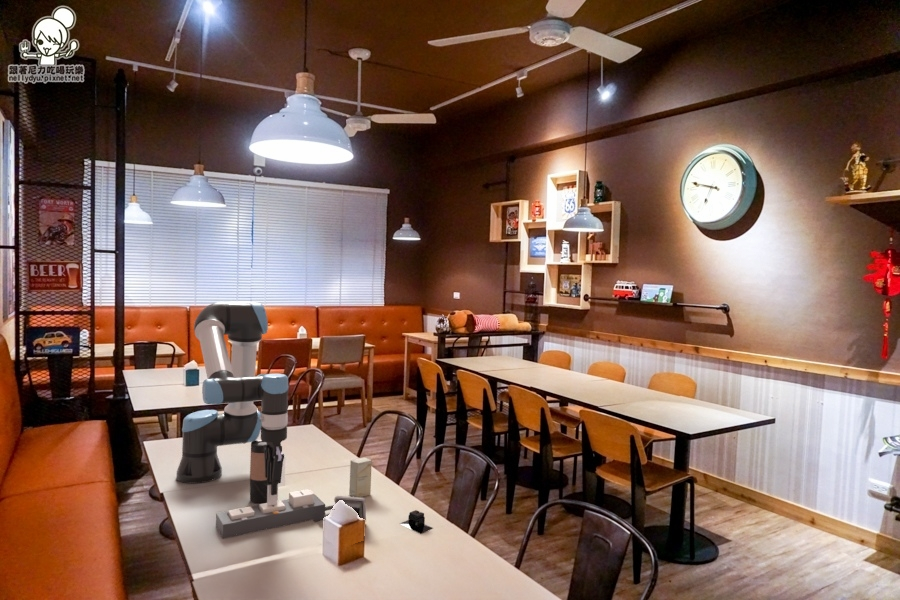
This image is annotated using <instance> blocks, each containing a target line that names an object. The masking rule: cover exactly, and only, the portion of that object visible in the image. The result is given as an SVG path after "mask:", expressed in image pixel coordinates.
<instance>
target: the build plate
mask: <svg viewBox="0 0 900 600" xmlns="http://www.w3.org/2000/svg"><path fill="white" fill-rule="evenodd" d="M425 519H426V517H425V513H424V512H422V511H419V510H417V509H415V510H412V511H410V512H409V514H408V520H405V521H402V522H400V523H399V525H401V526H403V527H405V528H408V529H410V530H412V531H413V532H416V533H418V534H420V535H421V534H425V533H426V532H429V531H431V530H433V529H434V527H432V526H430V525H427V524H425ZM428 530H429V531H428Z"/></svg>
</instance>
